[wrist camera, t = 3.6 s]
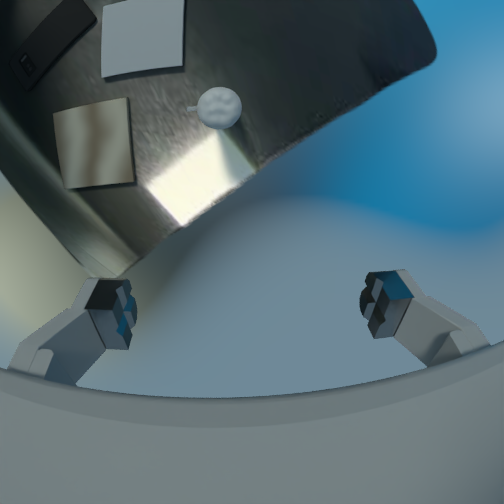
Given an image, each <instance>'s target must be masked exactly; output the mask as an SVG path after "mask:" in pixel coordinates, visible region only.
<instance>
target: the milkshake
mask: <svg viewBox="0 0 504 504" xmlns="http://www.w3.org/2000/svg"><path fill="white" fill-rule="evenodd" d="M195 110H197V113H198V116H199V119H200V120H201V121H202V122H203V123H204V124H205V125H206V126H208V127H210V128H213V129H226V128H229V127H231V126H232V125H233V124H234V123H235V122H236V121H237V120H238V119H239V117H240V115H241V111H242V105H241V101H240V99H239V97H238V95H237V94H236V93H235V92H234V91H232V90H230V89H228V88H224V87H216V88H212V89H210V90H208V91H207V92H205V93H204V94H203V95H202V96H201V97H200V99H199V101H198V105H197V106H191V107H187V112H188V111H195Z"/></svg>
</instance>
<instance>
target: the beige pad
mask: <svg viewBox="0 0 504 504" xmlns="http://www.w3.org/2000/svg"><path fill="white" fill-rule="evenodd" d="M53 118H54V128H55V136H56V144H57V151H58V157H59V163H60V169H61V174H62V180H63V185H64V189H71V188H79V187H87V186H96V185H105V184H115V183H126V182H134V181H135V173H134V165H133V156H132V145H131V134H130V121H129V104H128V97H127V98H121V99H115V100H109V101H104V102H99V103H94V104H89V105H85V106H80V107H76V108H72V109H68V110H64V111H60V112H57V113H53Z"/></svg>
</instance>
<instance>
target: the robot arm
mask: <svg viewBox="0 0 504 504" xmlns="http://www.w3.org/2000/svg"><path fill="white" fill-rule="evenodd" d="M365 283H366V285H367V287H366V288H365V289H364V290H363V291H362V292H361V295H360V310H361V313H362V315H363V317H365V318H366V319H367V320H369V322H368V328H369V330H370V332H371V334H372V336H373V338H374V339H378V338H386V337H392V336H394V338H395V339H396V340H397V341H398V342H400V343H401V344H402V345H403V346H404V347H405V348H407V349H408V350H409V351H410V352H411V353H412V354H413V355H415V356H416V357H417V358H418V359H419V360H420V361H422V362H423V363H424V364H425V365H426V366H427V368H425V369H421V370H418V371H414V372H410V373H406V374H402V375H398V376H394V377H390V378H386V379H381V380H377V381H372V382H367V383H362V384H356V385H351V386H346V387H340V388H334V389H326V390H319V391H312V392H304V393H295V394H285V395H272V396H258V397H237V398H236V397H235V398H183V397H162V396H147V395H136V394H126V393H118V392H109V391H102V390H95V389H89V388H82V387H77V385H76V384H75V383H76V382H77V381H78V380H79V379H80V378H81V377H82V376H83V375H84V373H85V372H86V371H87V370H88V369H89V368H90V367H91V366H92V365H93V363H95V361H96V360H97V359H98V358H99V357H100V356H101V355H102V354H103V353H104V352H105V350H106V349H120V350H128V349H129V345H130V341H131V338H132V333H131V330H130V329H131V328H132V327H133V326H135V324H136V320H137V305H136V301H135V298H134V297H132V296H131V295H130V292H131V289H132V288H131V284H130V281H129V280H128V279H123V278H88V279H87V280H86V281H85V283H84V284H83V286H82V288H81V290H80V292H79V293H78V295H77V297H76V299H75V301H74V303H73V305H72V307H71V309H65V310H64V311H63V312H61V313H60V314H58V315H57V316H56V317H54V318H53V319H51V320H50V321H49V322H47V323H46V324H45V325H43V326H42V327H41V328H39V329H38V330H36V331H35V332H34V333H32V334H31V335H30V336H28V337H27V338H26V339H24V340H23V341H22V342H20V344H19V346H18V347H17V349H16V352H15V354H14V356H13V358H12V360H11V362H10V364H9V366H8V368H7V370H6V369H3V368H0V504H504V341H502V342H499V343H497V344H495V345H492V346H491V345H490V344H489V342H488V340H487V339H486V337H485V336H484V334H483V333H482V331H481V330H480V328H479V327H478V326H477V324H476V323H474V322H472V321H471V320H469V319H467V318H466V317H464V316H462V315H461V314H459V313H457V312H456V311H454V310H452V309H451V308H449V307H447V306H446V305H444V304H442V303H440V302H439V301H437V300H435V299H434V298H432V297H430V296H426V295H425V294H424V292H423V291H422V290H421V288H420V287H419V286H418V284H417V283H416V282H415V280H414V279H413V278H412V276H411V275H410V274H409V272H408V271H406V270H405V269H402V270H393V271H381V272H369V273H368V275H367V276H366V279H365Z"/></svg>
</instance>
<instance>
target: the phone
mask: <svg viewBox="0 0 504 504" xmlns="http://www.w3.org/2000/svg"><path fill="white" fill-rule="evenodd" d="M96 20H97V18H96V16H95V15H94V14H93V12H92V11H91V10H90V9H89V7H88V6H87V5H86V4H85V2H84V1H83V0H63V1H62V2H61V3H60V4H59V5H58V6H57V7H56V8H55V9H54V10H53V11H52V12H51V13H50V14H49V15H48V16H47V17H46V18H45V19H44V20H43V21H42V22H41V23H40V24H39V26H38V27H37V28H36V29H35V30H34V31H33V32H32V33H31V35H30V36H29V37H28V38H27V39H26V41H25V42H24V43H23V44H22V45H21V47H20V48H19V49H18V51H17V52H16V53H15V54H14V56H13V57H12V58H11V60H10V62H9V65H10V67H11V69H12V70H13V72H14V74H15V75H16V77H17V78H18V80H19V81H20V83H21V84H22V86H23V88H24V89H25V91H30V90H31V89H32V88H33V87H34V85H35V84H36V83H37V82H38V80H39V79H40V78H41V77H42V76H43V74H44V73H45V72H46V71H47V70H48V69H49V67H50V66H51V65H52V64H53V63H54V62H55V61H56V60H57V59H58V57H59V56H60V55H61V54H62V53H63V52H64V51H65V50H66V49H67V48H68V47H69V46H70V45H71V44H72V43H73V42H74V41H75V40H76V39H77V38H78V37H79V36H80V35H81V34H82V33H83V32H85V31H86V30H87V29H88V28H89V27H90V26H91V25H92V24H93V23H94V22H95V21H96Z"/></svg>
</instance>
